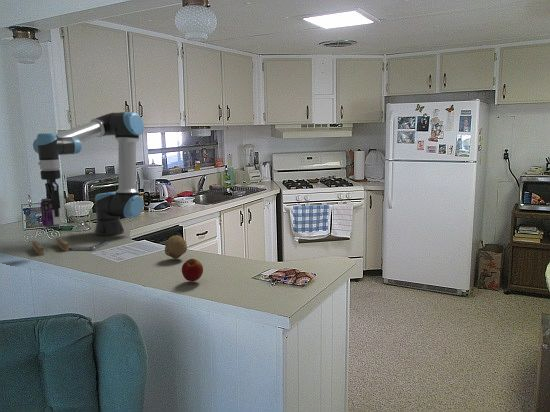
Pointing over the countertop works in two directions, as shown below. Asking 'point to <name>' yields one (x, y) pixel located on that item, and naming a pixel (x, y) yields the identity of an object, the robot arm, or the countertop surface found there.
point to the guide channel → (60, 243)
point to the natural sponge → (175, 247)
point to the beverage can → (47, 213)
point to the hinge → (88, 247)
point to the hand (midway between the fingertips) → (55, 223)
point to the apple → (192, 270)
